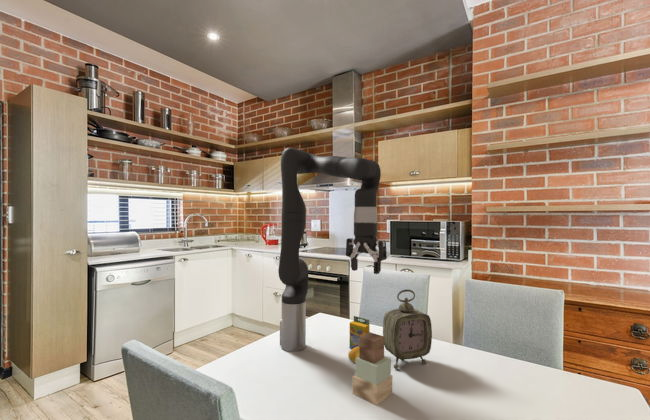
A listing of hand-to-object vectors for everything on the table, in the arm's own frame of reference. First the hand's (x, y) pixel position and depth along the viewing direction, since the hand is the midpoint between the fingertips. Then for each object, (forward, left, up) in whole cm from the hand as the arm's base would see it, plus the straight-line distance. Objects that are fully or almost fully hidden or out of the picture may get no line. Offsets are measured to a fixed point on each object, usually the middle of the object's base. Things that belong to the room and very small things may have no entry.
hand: (365, 271), depth 102 cm
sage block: (+8, -8, -27) cm, 30 cm away
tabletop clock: (+6, +15, -32) cm, 36 cm away
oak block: (+8, -8, -32) cm, 34 cm away
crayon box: (-12, +13, -32) cm, 37 cm away
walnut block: (+8, -8, -22) cm, 25 cm away
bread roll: (-7, +7, -32) cm, 34 cm away
